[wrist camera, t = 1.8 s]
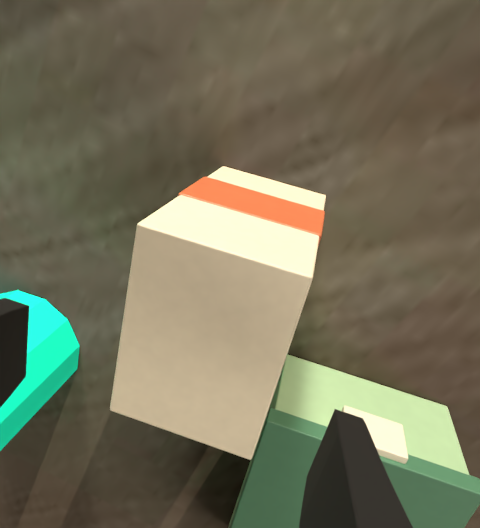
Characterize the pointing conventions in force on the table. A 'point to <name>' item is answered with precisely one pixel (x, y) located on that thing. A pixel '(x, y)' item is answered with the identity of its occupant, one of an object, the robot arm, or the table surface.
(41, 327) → the candle
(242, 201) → the juice carton
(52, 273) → the table surface
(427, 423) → the lunchbox
